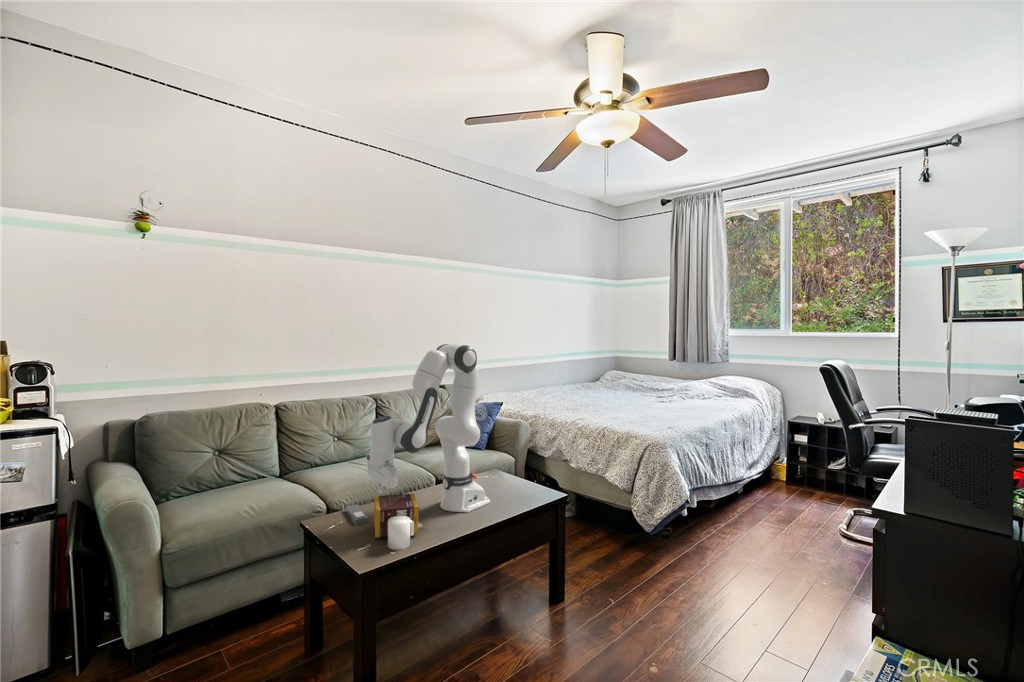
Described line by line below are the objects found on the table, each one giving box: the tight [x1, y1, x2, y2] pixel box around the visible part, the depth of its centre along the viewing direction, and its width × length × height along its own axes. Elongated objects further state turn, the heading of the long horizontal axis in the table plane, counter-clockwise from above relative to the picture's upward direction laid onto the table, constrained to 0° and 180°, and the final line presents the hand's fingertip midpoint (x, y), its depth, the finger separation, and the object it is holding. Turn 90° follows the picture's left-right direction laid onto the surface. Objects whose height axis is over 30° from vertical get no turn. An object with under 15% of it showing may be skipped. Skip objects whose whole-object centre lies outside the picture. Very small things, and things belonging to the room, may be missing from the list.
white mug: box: [387, 516, 415, 551], centre depth 173 cm, size 9×8×9 cm
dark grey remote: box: [345, 503, 369, 526], centre depth 197 cm, size 16×5×3 cm, turn 32°
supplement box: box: [373, 493, 419, 538], centre depth 184 cm, size 10×15×16 cm
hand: (382, 493), depth 185 cm, fingers closed
